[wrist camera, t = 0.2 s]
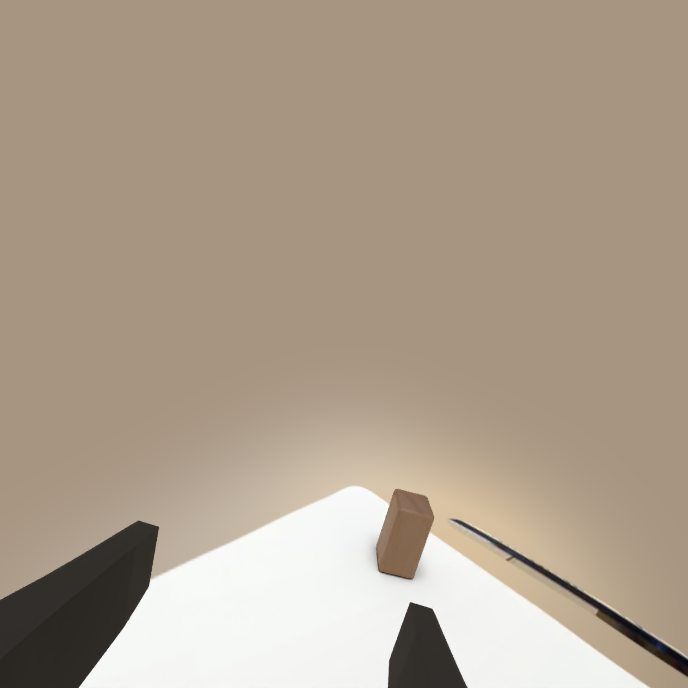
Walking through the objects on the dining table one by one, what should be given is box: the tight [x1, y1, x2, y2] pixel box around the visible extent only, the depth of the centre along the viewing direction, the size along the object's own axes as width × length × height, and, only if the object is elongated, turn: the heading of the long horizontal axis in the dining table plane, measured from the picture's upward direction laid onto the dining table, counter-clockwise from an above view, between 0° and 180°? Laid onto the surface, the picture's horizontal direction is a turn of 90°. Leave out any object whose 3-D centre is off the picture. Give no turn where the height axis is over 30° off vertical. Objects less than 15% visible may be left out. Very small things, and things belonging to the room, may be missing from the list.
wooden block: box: [377, 489, 434, 579], centre depth 41 cm, size 4×4×8 cm
